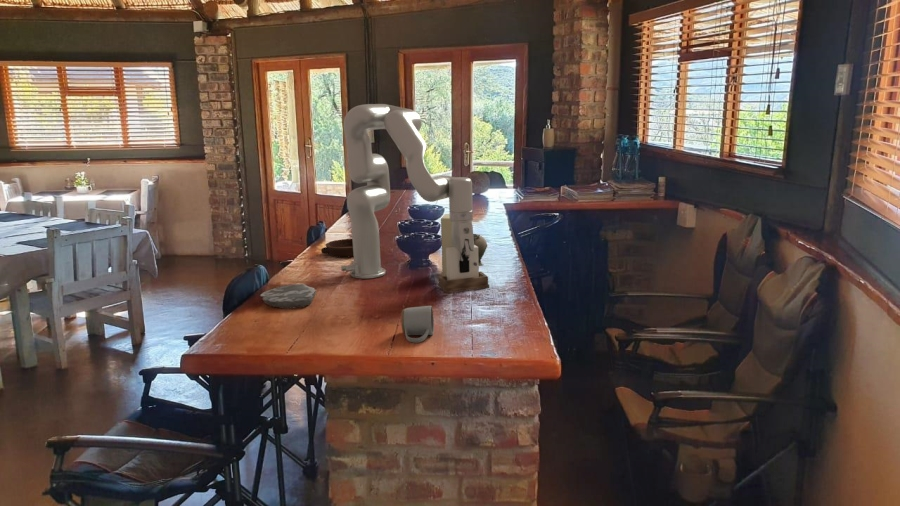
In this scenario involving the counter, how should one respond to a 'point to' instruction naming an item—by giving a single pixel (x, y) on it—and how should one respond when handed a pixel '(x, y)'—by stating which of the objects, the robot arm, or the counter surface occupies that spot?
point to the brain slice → (289, 296)
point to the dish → (339, 248)
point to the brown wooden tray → (463, 283)
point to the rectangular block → (454, 267)
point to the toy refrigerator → (445, 239)
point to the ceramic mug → (417, 322)
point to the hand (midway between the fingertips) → (462, 270)
